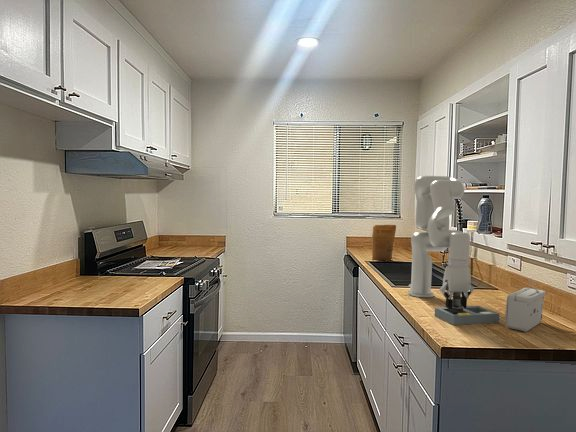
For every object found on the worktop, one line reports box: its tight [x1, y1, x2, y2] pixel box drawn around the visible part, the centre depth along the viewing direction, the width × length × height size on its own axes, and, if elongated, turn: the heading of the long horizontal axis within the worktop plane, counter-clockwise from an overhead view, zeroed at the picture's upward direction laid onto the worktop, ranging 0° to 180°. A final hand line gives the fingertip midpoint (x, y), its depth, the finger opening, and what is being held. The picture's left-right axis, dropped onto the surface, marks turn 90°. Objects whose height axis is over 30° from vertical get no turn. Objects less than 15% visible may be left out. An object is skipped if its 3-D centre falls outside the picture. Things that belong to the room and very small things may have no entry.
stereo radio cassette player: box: [504, 278, 547, 333], centre depth 158 cm, size 21×8×20 cm, turn 133°
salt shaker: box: [450, 292, 464, 314], centre depth 163 cm, size 6×6×12 cm
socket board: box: [434, 305, 501, 326], centre depth 164 cm, size 12×21×4 cm, turn 105°
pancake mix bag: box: [371, 224, 397, 261], centre depth 314 cm, size 7×19×28 cm, turn 95°
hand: (456, 307), depth 163 cm, fingers closed on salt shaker, 5 cm apart
